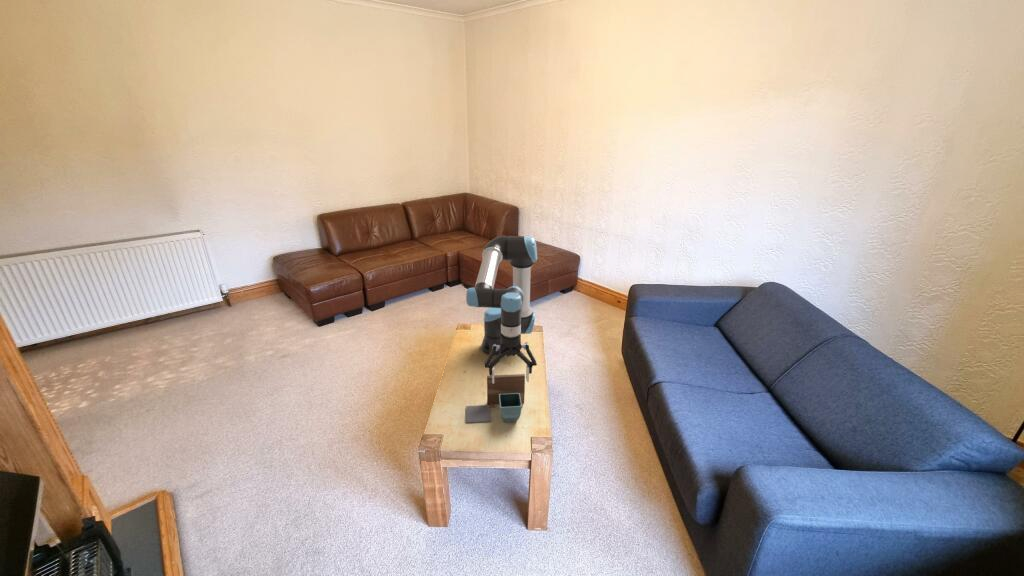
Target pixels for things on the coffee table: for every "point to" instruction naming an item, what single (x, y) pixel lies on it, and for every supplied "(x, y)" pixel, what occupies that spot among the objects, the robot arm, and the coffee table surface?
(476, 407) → the mat
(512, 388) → the screen
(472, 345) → the coffee table surface
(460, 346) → the coffee table surface
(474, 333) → the coffee table surface
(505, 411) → the flower pot
